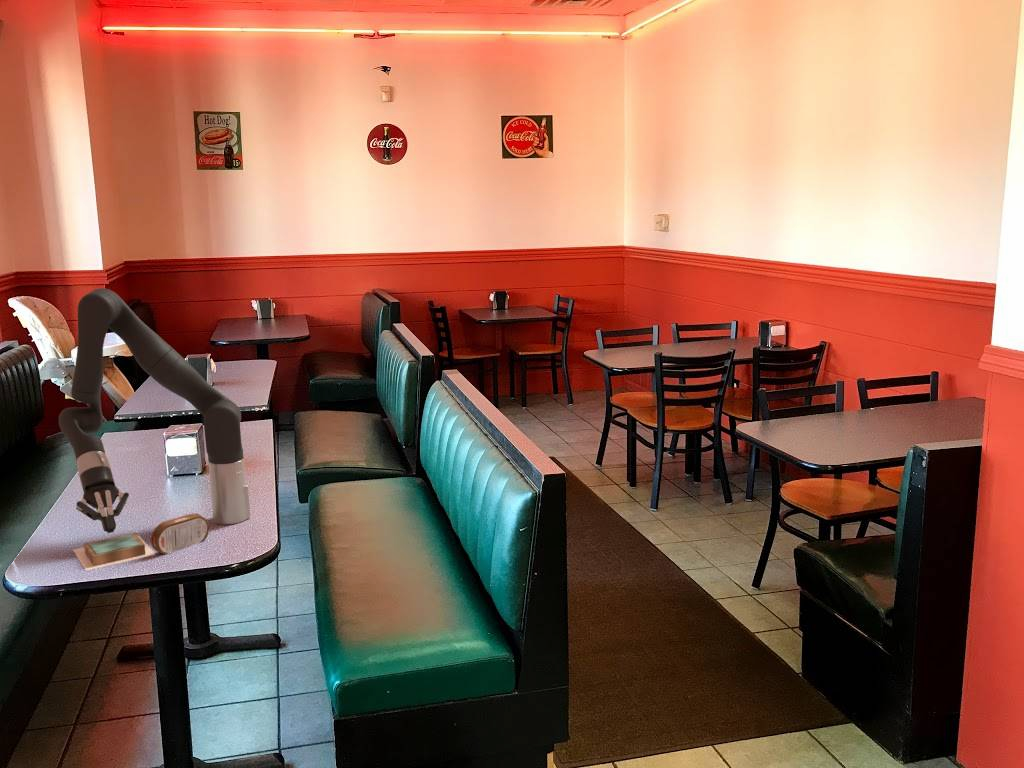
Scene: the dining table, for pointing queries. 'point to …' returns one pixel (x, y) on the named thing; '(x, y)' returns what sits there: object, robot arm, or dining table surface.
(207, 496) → the dining table surface
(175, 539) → the tin
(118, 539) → the plaque
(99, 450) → the robot arm
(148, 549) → the placemat
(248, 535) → the dining table surface
